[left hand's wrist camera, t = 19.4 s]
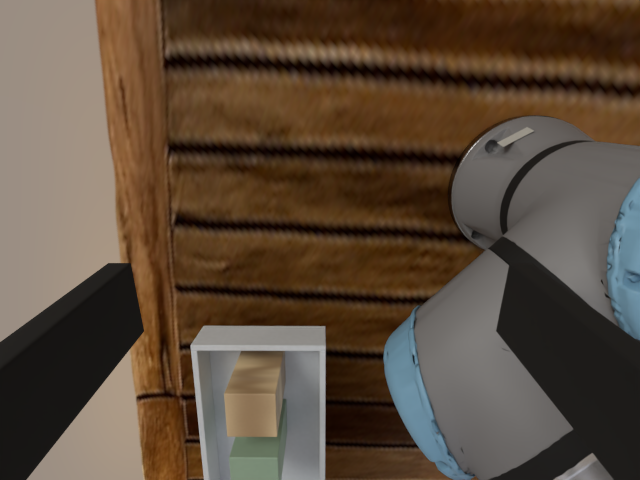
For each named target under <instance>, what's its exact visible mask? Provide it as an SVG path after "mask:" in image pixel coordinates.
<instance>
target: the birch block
mask: <svg viewBox="0 0 640 480" xmlns="http://www.w3.org/2000/svg"><path fill="white" fill-rule="evenodd" d="M285 383H286V371H285V351H241V353H240V355H239V358H238V360H237V363H236V365H235V368H234V370H233V373H232V375H231V378H230V380H229V383H228V385H227V388H226V390H225V393H224V400H225V413H226V426H227V437H277V434H278V428H279V421H280V415H281V409H282V402H283V396H284V389H285Z"/></svg>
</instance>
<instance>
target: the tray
mask: <svg viewBox="0 0 640 480" xmlns="http://www.w3.org/2000/svg"><path fill="white" fill-rule="evenodd" d="M241 351H285V371H286V383H285V389H284V396H283V399H286V405H287V438H286V446H285V454H284V462H283V470H282V479H281V480H325V404H326V331H325V326H203V328H202V329H201V331H200V332H199V334H198V335H197V337H196V338H195V340H194V341H193V343H192V344H191V354H192V364H193V374H194V384H195V394H196V404H197V414H198V424H199V434H200V444H201V454H202V464H203V474H204V480H231V476H230V463H229V456H230V453H231V450H232V446H233V443H234V440H235V437H227V426H226V413H225V400H224V393H225V390H226V388H227V385H228V383H229V380H230V378H231V375H232V373H233V370H234V368H235V365H236V363H237V360H238V358H239V355H240V353H241Z"/></svg>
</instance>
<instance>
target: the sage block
mask: <svg viewBox="0 0 640 480" xmlns="http://www.w3.org/2000/svg"><path fill="white" fill-rule="evenodd" d="M286 438H287V405H286V399H283V402H282V409H281V415H280V421H279V428H278V434H277V437H235V440H234V443H233V446H232V450H231V453H230V456H229V463H230V476H231V480H281V479H282V470H283V462H284V454H285V446H286Z"/></svg>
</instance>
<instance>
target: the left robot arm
mask: <svg viewBox="0 0 640 480" xmlns="http://www.w3.org/2000/svg"><path fill="white" fill-rule="evenodd" d="M448 203H449V209H450V213H451V216H452V218H453V220H454V222H455V224H456V226H457V227H458V229H459V230H460V231H461V233H462V234H463V235H464V236H465V237H466V238H468V239H469V240H470V241H471V242H472V243H474V244H475V245H477V246H478V247H480V248H482V249H484V250H485V251H484V252H483V253H482V254H481V255H480V256H479V257H478V258H476V259H475V260H474V261H473V262H472V263H471V264H469V265H468V266H467V267H466V268H465V269H464V270H462V271H461V272H460V273H459V274H458V275H457V276H456V277H454V278H453V279H452V280H451V281H450V282H449V283H447V284H446V285H445V286H444V287H443V288H442V289H440V290H439V291H438V292H437V293H436V294H435V295H433V296H432V297H431V298H430V299H429V300H428V301H426V302H425V303H424V304H423V305H422V306H420V305H418V306H417V307H416V308H414V309H413V311H412V313H411V316H410V317H409V318H408V319H407V320H406V321H405V322H403V323H402V324H401V325H400V326H399V327H398V328H397V329H396V330H395V331H394V332H393V333H392V334H391V335H390V337H389V338H388V340H387V342H386V345H385V348H384V358H383V359H384V365H385V367H384V369H385V376H386V380H387V384H388V387H389V390H390V393H391V396H392V399H393V401H394V404H395V406H396V408H397V410H398V412H399V415H400V417H401V418H402V420H403V422H404V424H405V426H406V428H407V430H408V431H409V433H410V435H411V436H412V438H413V439H414V441H415V443H416V444H417V445H418V447H419V448H420V450H421V451H422V452H423V453H424V455H425V456H426V457H427V458H428V459H429V460H430V461H431V462H435V464H436V466H437V468H438V470H439V471H440V472H442V473H443V474H444V475H446V476H447V477H449V478H451V479H454V480H463V479H465V480H470V479H472V478H473V477H474V476H476V477H477V478H478V479H479V480H640V146H633V145H624V144H615V143H606V142H596V141H594V140H593V139H592V138H590V137H589V136H588V135H586V134H585V133H584V132H582V131H581V130H580V129H578V128H577V127H575V126H574V125H572V124H570V123H568V122H565V121H563V120H560V119H557V118H553V117H548V116H533V115H529V116H519V117H514V118H510V119H507V120H504V121H501V122H499V123H497V124H495V125H493V126H491V127H489V128H488V129H486V130H485V131H483V132H482V133H481V134H479V135H478V136H477V137H476V138H475V139H474V140H473V141H472V142H471V143H470V144H469V145H468V146H467V147H466V148H465V150H464V151H463V153H462V154H461V155H460V157H459V159H458V161H457V162H456V165H455V167H454V169H453V172H452V174H451V178H450V182H449V188H448ZM143 332H144V329H143V324H142V319H141V313H140V308H139V303H138V298H137V293H136V288H135V283H134V278H133V273H132V268H131V263H108V264H107V265H105V266H104V267H103V268H101V269H100V270H99V271H97V272H96V273H94V274H93V275H92V276H90V277H89V278H88V279H86V280H85V281H84V282H82V283H81V284H79V285H78V286H77V287H75V288H74V289H73V290H71V291H70V292H68V293H67V294H66V295H64V296H63V297H62V298H60V299H59V300H58V301H56V302H55V303H53V304H52V305H51V306H49V307H48V308H47V309H45V310H44V311H43V312H41V313H40V314H38V315H37V316H36V317H34V318H33V319H31V320H30V321H29V322H27V323H26V324H25V325H23V326H22V327H20V328H19V329H18V330H16V331H15V332H14V333H12V334H11V335H10V336H8V337H7V338H5V339H4V340H3V341H1V342H0V480H26V479H27V478H28V477H29V476H30V474H31V473H32V472H33V471H34V469H35V468H36V467H37V466H38V464H39V463H40V462H41V460H42V459H43V458H44V457H45V455H46V454H47V453H48V452H49V450H50V449H51V448H52V447H53V445H54V444H55V443H56V441H57V440H58V439H59V438H60V436H61V435H62V434H63V433H64V431H65V430H66V429H67V428H68V426H69V425H70V424H71V423H72V421H73V420H74V419H75V418H76V416H77V415H78V414H79V412H80V411H81V410H82V409H83V407H84V406H85V405H86V404H87V402H88V401H89V400H90V399H91V397H92V396H93V395H94V394H95V392H96V391H97V390H98V388H99V387H100V386H101V385H102V383H103V382H104V381H105V380H106V378H107V377H108V376H109V375H110V373H111V372H112V371H113V370H114V368H115V367H116V366H117V364H118V363H119V362H120V361H121V359H122V358H123V357H124V356H125V354H126V353H127V352H128V351H129V349H130V348H131V347H132V346H133V344H134V343H135V342H136V341H137V339H138V338H139V337H140V335H141V334H142V333H143Z"/></svg>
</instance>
